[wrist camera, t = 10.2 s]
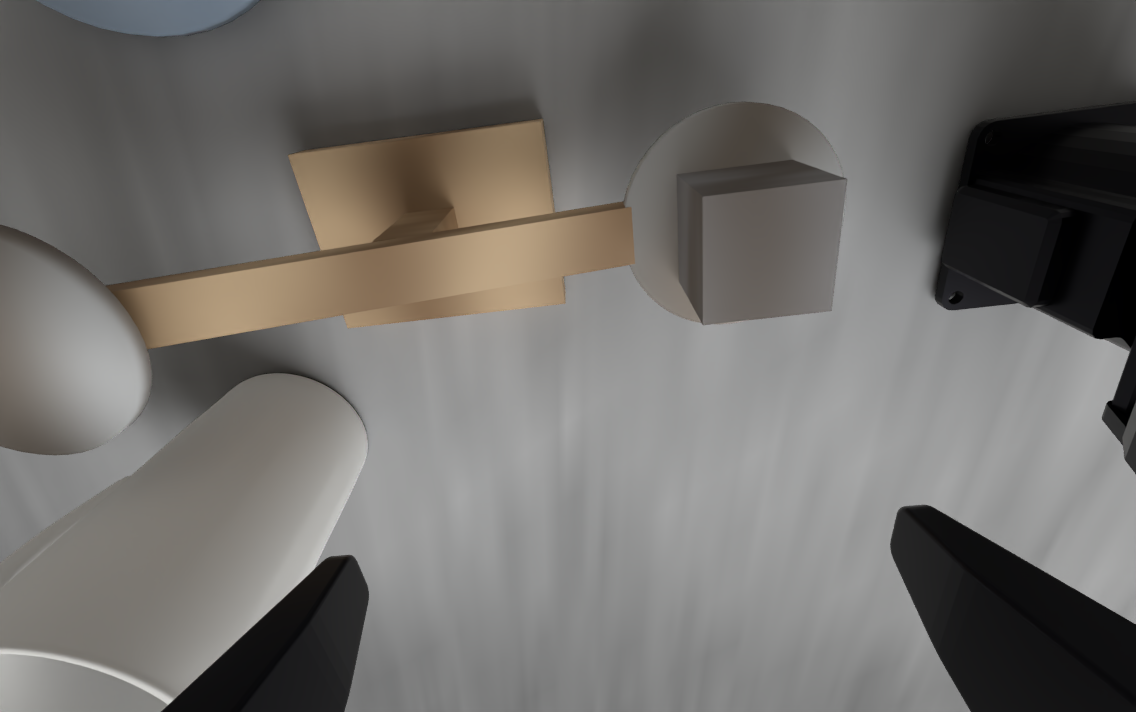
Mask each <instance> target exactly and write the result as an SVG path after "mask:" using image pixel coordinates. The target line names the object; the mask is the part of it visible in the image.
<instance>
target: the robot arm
mask: <svg viewBox="0 0 1136 712" xmlns="http://www.w3.org/2000/svg"><path fill="white" fill-rule="evenodd" d="M991 130H992V131H993V137H992V139H991V140H990V141H989V142H988V143H987V144H986V143H985V138H986V136H987V134H988V133H989V132H990V131H991ZM941 261H942V267H941V271H940V276H939V281H938V285H937V290H936V295H935V300H936V302H937V304H939V305H941V306H942V307H944V308H946V309H947V310H960V309H969V308H979V307H988V306H997V305H1006V304H1015V303H1020V304H1022V305H1024V306H1026V307H1030V308H1034V309H1036V310H1039V311H1041V312H1043V313H1045V314H1047V315H1049V316H1051V317H1053V318H1055V319H1057V320H1059V321H1061V322H1063V323H1065V324H1067V325H1069V326H1071V327H1073V328H1075V329H1077V330H1079V331H1081V332H1083V333H1085V334H1087V335H1089V336H1091V337H1094V338H1096V339H1105V340H1107V341H1109V342H1111V343H1113V344H1115V345H1117V346H1120V347H1122V348H1124V349H1126V350H1128V351H1130V353H1129V356H1128V359H1127V361H1126V364H1125V367H1124V370H1123V373H1122V376H1121V379H1120V381H1119V384H1118V387H1117V390H1116V393H1115V396H1114V398H1113V400H1112V401H1108V402H1107V404H1106V407H1105V410H1104V413H1103V416H1102V420H1103V421H1104V423H1105V424H1106V425H1107V426H1108V428H1109V429H1110V430H1111V431H1112V433H1113V434H1114V435H1115V436H1116V438H1117V439H1118V440H1119V441H1120V443H1121V444H1122V445H1123V449H1124V458H1125V461H1126V462H1127V463H1128V464H1129V466H1130V467H1131V468H1132V470H1133V471H1134V472H1135V474H1136V101H1133V102H1125V103H1117V104H1109V105H1101V106H1093V107H1086V108H1078V109H1070V110H1062V111H1054V112H1046V113H1038V114H1030V115H1023V116H1015V117H1007V118H999V119H991V120H986V121H983V122H981V123H980V124H978V125H977V126H976V127H975V128H974V130H973V131H972V132H971V135H970V137H969V141H968V145H967V150H966V155H965V159H964V164H963V169H962V173H961V178H960V183H959V187H958V191H957V193H956V194H955V198H954V203H953V207H952V212H951V217H950V221H949V226H948V231H947V236H946V240H945V245H944V250H943V254H942V259H941ZM954 292H956V295H955V296H954V297H953V298H952V299H950V300H949V297H950V295H951V294H952V293H954ZM890 547H891V553H892V556H893V559H894V561H895V563H896V566H897V568H898V570H899V572H900V574H901V577H902V579H903V581H904V583H905V585H906V587H907V590H908V592H909V594H910V596H911V598H912V601H913V603H914V605H915V607H916V609H917V611H918V614H919V616H920V618H921V620H922V622H923V624H924V627H925V629H926V631H927V633H928V635H929V637H930V640H931V642H932V644H933V646H934V648H935V650H936V652H937V654H938V655H939V657H940V659H941V661H942V663H943V664H944V666H945V668H946V670H947V672H948V673H949V675H950V677H951V678H952V680H953V682H954V684H955V685H956V687H957V689H958V690H959V692H960V694H961V696H962V697H963V699H964V701H965V702H966V704H967V706H968V708H969V709H970V711H971V712H1136V624H1134V623H1132V622H1131V621H1129V620H1127V619H1125V618H1124V617H1122V616H1120V615H1118V614H1117V613H1115V612H1113V611H1112V610H1110V609H1108V608H1106V607H1105V606H1103V605H1101V604H1099V603H1098V602H1096V601H1094V600H1093V599H1091V598H1089V597H1087V596H1086V595H1084V594H1082V593H1080V592H1079V591H1077V590H1075V589H1073V588H1072V587H1070V586H1068V585H1067V584H1065V583H1063V582H1061V581H1060V580H1058V579H1056V578H1054V577H1053V576H1051V575H1049V574H1048V573H1046V572H1044V571H1042V570H1041V569H1039V568H1037V567H1035V566H1034V565H1032V564H1030V563H1029V562H1027V561H1025V560H1023V559H1022V558H1020V557H1018V556H1016V555H1015V554H1013V553H1011V552H1010V551H1008V550H1006V549H1004V548H1003V547H1001V546H999V545H997V544H996V543H994V542H992V541H991V540H989V539H987V538H985V537H984V536H982V535H980V534H978V533H977V532H975V531H973V530H972V529H970V528H968V527H966V526H965V525H963V524H961V523H959V522H958V521H956V520H954V519H952V518H951V517H949V516H947V515H946V514H944V513H942V512H940V511H939V510H937V509H935V508H933V507H931V506H928V505H915V506H904V507H901V508H900V509H899V510H898V512H897V516H896V520H895V524H894V529H893V533H892V538H891V543H890ZM368 600H369V591H368V586H367V583H366V581H365V579H364V576H363V574H362V572H361V569H360V567H359V565H358V563H357V560H356V559H355V557H353V556H352V555H341V556H331V557H328V558H327V559H325V560H324V561H323V562H322V563H320V564H319V565H318V566H317V567H316V568H315V569H314V570H313V571H312V572H311V573H310V574H309V575H308V576H306V577H305V578H304V579H303V580H302V581H301V582H300V583H299V584H298V585H297V586H296V587H295V588H294V589H292V590H291V591H290V592H289V593H288V594H287V595H286V596H285V597H284V598H283V599H282V600H281V601H280V602H278V603H277V604H276V605H275V606H274V607H273V608H272V609H271V610H270V611H269V612H268V613H267V614H266V615H264V616H263V617H262V618H261V619H260V620H259V621H258V622H257V623H256V624H255V625H254V626H253V627H252V628H250V629H249V630H248V631H247V632H246V633H245V634H244V635H243V636H242V637H241V638H240V639H239V640H238V641H236V642H235V643H234V644H233V645H232V646H231V647H230V648H229V649H228V650H227V651H226V652H225V653H223V654H222V655H221V656H220V657H219V658H218V659H217V660H216V661H215V662H214V663H213V664H212V665H211V666H209V667H208V668H207V669H206V670H205V671H204V672H203V673H202V674H201V675H200V676H199V677H198V678H197V679H195V680H194V681H193V682H192V683H191V684H190V685H189V686H188V687H187V688H186V689H185V690H184V691H183V692H181V693H180V694H179V695H178V696H177V697H176V698H175V699H174V700H173V701H172V702H171V703H170V704H169V705H167V706H166V707H165V708H164V709H163V710H162V711H161V712H344V711H345V707H346V704H347V700H348V697H349V692H350V688H351V684H352V679H353V675H354V670H355V665H356V660H357V655H358V650H359V645H360V640H361V635H362V630H363V625H364V620H365V616H366V611H367V606H368Z"/></svg>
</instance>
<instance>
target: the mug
mask: <svg viewBox="0 0 1136 712" xmlns="http://www.w3.org/2000/svg"><path fill="white" fill-rule="evenodd" d="M367 451H368V439H367V434H366V430H365V427H364V425H363V423H362V421H361V419H360V417H359V416H358V414H357V413H356V411H355V410H354V409H353V407H352V406H351V405H350V404H349V403H348V402H347V401H346V400H345V399H344V398H343V397H342V396H340V395H339V394H338V393H336V392H335V391H333V390H332V389H330V388H329V387H327V386H325V385H323V384H321V383H319V382H317V381H314V380H312V379H309V378H306V377H302V376H298V375H293V374H284V373H271V374H263V375H258V376H255V377H252V378H249V379H247V380H245V381H243V382H241V383H240V384H238V385H237V386H235V387H234V388H233V389H231V390H230V391H229V392H228V393H227V394H226V395H224V396H223V397H222V398H221V399H220V400H219V401H217V402H216V403H215V404H214V405H213V406H212V407H210V408H209V409H208V410H207V411H205V412H204V413H203V414H202V415H201V416H199V417H198V418H197V419H195V420H194V421H193V422H192V423H191V424H189V425H188V426H187V427H186V428H185V429H184V430H183V431H181V432H180V433H179V434H178V435H177V436H176V437H175V438H174V439H172V440H171V441H170V442H169V443H168V444H167V445H166V446H164V447H163V448H162V449H161V450H160V451H159V452H158V453H156V454H155V455H154V456H153V457H152V458H151V459H150V460H148V461H147V462H146V463H145V464H144V465H143V466H142V467H140V468H139V469H138V470H137V471H136V472H135V473H134V474H132V475H131V476H127V477H125V478H123V479H121V480H119V481H117V482H116V483H114V484H112V485H111V486H109V487H108V488H106V489H105V490H103V491H102V492H100V493H99V494H97V495H96V496H94V497H93V498H91V499H89V500H88V501H86V502H85V503H83V504H82V505H80V506H79V507H77V508H76V509H74V510H73V511H71V512H70V513H68V514H67V515H65V516H64V517H62V518H61V519H59V520H58V521H56V522H55V523H53V524H52V525H50V526H49V527H47V528H46V529H45V530H43V531H42V532H40V533H39V534H38V535H36V536H35V537H33V538H32V539H31V540H29V541H28V542H27V543H25V544H24V545H23V546H21V547H20V548H19V549H17V550H16V551H15V552H14V553H12V554H11V555H10V556H8V557H7V558H6V559H5V560H3V561H2V562H1V563H0V712H161V711H162V710H163V709H164V708H165V707H166V706H167V705H169V704H170V703H171V702H172V701H173V700H174V699H175V698H176V697H177V696H178V695H179V694H180V693H181V692H183V691H184V690H185V689H186V688H187V687H188V686H189V685H190V684H191V683H192V682H193V681H194V680H195V679H197V678H198V677H199V676H200V675H201V674H202V673H203V672H204V671H205V670H206V669H207V668H208V667H209V666H211V665H212V664H213V663H214V662H215V661H216V660H217V659H218V658H219V657H220V656H221V655H222V654H223V653H225V652H226V651H227V650H228V649H229V648H230V647H231V646H232V645H233V644H234V643H235V642H236V641H238V640H239V639H240V638H241V637H242V636H243V635H244V634H245V633H246V632H247V631H248V630H249V629H250V628H252V627H253V626H254V625H255V624H256V623H257V622H258V621H259V620H260V619H261V618H262V617H263V616H264V615H266V614H267V613H268V612H269V611H270V610H271V609H272V608H273V607H274V606H275V605H276V604H277V603H278V602H280V601H281V600H282V599H283V598H284V597H285V596H286V595H287V594H288V593H289V592H290V591H291V590H292V589H294V588H295V587H296V586H297V585H298V584H299V583H300V582H301V581H302V580H303V579H304V578H305V577H306V576H308V575H309V574H310V573H311V572H312V571H313V570H314V568H315V566H316V563H317V561H318V559H319V557H320V555H321V553H322V551H323V549H324V547H325V545H326V543H327V541H328V539H329V537H330V535H331V533H332V531H333V529H334V527H335V525H336V523H337V521H338V519H339V517H340V515H341V513H342V510H343V508H344V506H345V504H346V502H347V500H348V498H349V496H350V494H351V492H352V490H353V487H354V485H355V483H356V481H357V479H358V476H359V474H360V472H361V470H362V467H363V465H364V463H365V460H366V457H367Z"/></svg>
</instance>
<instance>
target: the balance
mask: <svg viewBox="0 0 1136 712" xmlns="http://www.w3.org/2000/svg"><path fill="white" fill-rule="evenodd" d="M288 157H289V160H290V163H291V166H292V169H293V171H294V174H295V177H296V180H297V183H298V186H299V189H300V192H301V195H302V197H303V200H304V203H305V206H306V209H307V212H308V215H309V218H310V221H311V223H312V226H313V229H314V232H315V235H316V238H317V241H318V244H319V247H320V250H321V251H316V252H310V253H303V254H297V255H291V256H285V257H279V258H273V259H266V260H260V261H254V262H248V263H242V264H236V265H230V266H223V267H217V268H211V269H205V270H199V271H193V272H186V273H180V274H174V275H168V276H162V277H156V278H149V279H143V280H137V281H131V282H125V283H119V284H113V285H106V286H105V285H104V284H103V283H102V282H101V281H100V280H99V279H97V278H96V277H95V276H94V275H93V274H92V273H91V272H90V271H88V270H87V269H86V268H84V267H83V266H82V265H80V264H79V263H78V262H76V261H75V260H74V259H72V258H71V257H69V256H68V255H66V254H65V253H63V252H61V251H60V250H58V249H57V248H55V247H53V246H51V245H49V244H47V243H45V242H43V241H42V240H40V239H38V238H36V237H33V236H31V235H29V234H26V233H24V232H21V231H19V230H16V229H13V228H10V227H7V226H3V225H0V446H2V447H5V448H8V449H13V450H17V451H21V452H27V453H33V454H42V455H69V454H75V453H82V452H85V451H89V450H92V449H95V448H97V447H99V446H101V445H103V444H105V443H107V442H108V441H110V440H111V439H113V438H114V437H115V436H117V435H118V434H119V433H121V432H122V431H123V430H124V429H126V428H127V427H128V426H129V425H131V424H132V423H133V422H134V421H135V420H136V419H137V418H138V417H139V416H140V415H141V413H142V411H143V410H144V408H145V407H146V405H147V402H148V399H149V397H150V393H151V387H152V368H151V363H150V357H149V354H148V351H147V349H152V348H157V347H163V346H169V345H175V344H180V343H186V342H192V341H197V340H203V339H209V338H215V337H220V336H226V335H232V334H237V333H243V332H249V331H255V330H260V329H266V328H272V327H277V326H283V325H289V324H295V323H300V322H306V321H312V320H317V319H323V318H329V317H335V316H340V315H343V316H344V319H345V322H346V325H347V328H355V327H364V326H372V325H381V324H390V323H399V322H408V321H416V320H425V319H434V318H443V317H452V316H460V315H469V314H478V313H487V312H496V311H504V310H513V309H522V308H531V307H540V306H548V305H557V304H565V285H564V277H563V276H569V275H574V274H580V273H586V272H592V271H597V270H603V269H609V268H614V267H620V266H626V265H630V267H631V269H632V272H633V274H634V276H635V278H636V279H637V281H638V282H639V284H640V286H641V287H642V288H643V289H644V291H645V292H646V293H647V294H648V295H649V297H651V298H652V299H653V300H654V301H655V302H656V303H657V304H658V305H660V306H661V307H663V308H664V309H666V310H667V311H669V312H671V313H673V314H675V315H677V316H679V317H682V318H685V319H688V320H691V321H695V322H700V323H702V324H703V325H709V324H732V323H738V322H744V321H747V320H754V319H763V318H772V317H782V316H791V315H800V314H809V313H818V312H827V311H832V302H833V294H834V286H835V277H836V269H837V260H838V252H839V244H840V235H841V228H842V224H843V219H844V213H845V200H846V185H847V179H846V178H844V177H843V173H842V168H841V165H840V163H839V160H838V158H837V155H836V153H835V151H834V150H833V148H832V146H831V145H830V143H829V141H828V140H827V139H826V138H825V137H824V135H823V134H822V133H821V132H820V131H819V130H818V129H817V128H816V127H815V126H814V125H813V124H811V123H810V122H809V121H808V120H806V119H805V118H803V117H801V116H800V115H798V114H796V113H794V112H792V111H789V110H787V109H785V108H782V107H778V106H774V105H770V104H764V103H754V102H732V103H725V104H720V105H715V106H712V107H709V108H706V109H703V110H700V111H698V112H696V113H694V114H692V115H690V116H688V117H686V118H684V119H683V120H681V121H680V122H678V123H677V124H675V125H674V126H672V127H671V128H670V129H668V130H667V131H666V132H665V133H664V134H663V135H662V136H660V137H659V138H658V139H657V141H656V142H655V143H654V144H653V145H652V146H651V147H650V148H649V149H648V151H647V152H646V154H645V155H644V156H643V158H642V159H641V161H640V162H639V164H638V166H637V168H636V169H635V171H634V173H633V175H632V177H631V180H630V182H629V185H628V188H627V190H626V194H625V198H624V202H617V203H611V204H605V205H599V206H593V207H587V208H580V209H574V210H568V211H562V212H556V213H555V208H554V201H553V193H552V186H551V178H550V170H549V163H548V155H547V147H546V140H545V132H544V125H543V119H536V120H529V121H521V122H514V123H506V124H499V125H491V126H484V127H476V128H469V129H461V130H454V131H446V132H439V133H431V134H424V135H416V136H409V137H401V138H394V139H386V140H379V141H371V142H363V143H356V144H348V145H341V146H333V147H326V148H318V149H311V150H304V151H300V152H297V153H293V154H289V155H288Z"/></svg>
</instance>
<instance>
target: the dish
mask: <svg viewBox="0 0 1136 712" xmlns="http://www.w3.org/2000/svg"><path fill="white" fill-rule="evenodd" d="M36 1H38V2H40V3H41V4H43V5H45V6H47V7H49V8H51V9H54V10H56V11H58V12H60V13H62V14H64V15H66V16H68V17H70V18H73V19H76V20H78V21H81V22H84V23H87V24H89V25H92V26H95V27H98V28H102V29H107V30H111V31H116V32H120V33H125V34H135V35H145V36H157V37H175V36H189V35H193V34H197V33H202V32H206V31H210V30H213V29H215V28H218V27H220V26H222V25H225V24H227V23H229V22H232V21H233V20H235V19H236V18H238V17H239V16H241V15H242V14H244V13H246V12H247V11H249V10H250V9H252V8H253V7H254V6H255V5H256V4H257V3H258V2H259V1H260V0H36Z"/></svg>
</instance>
